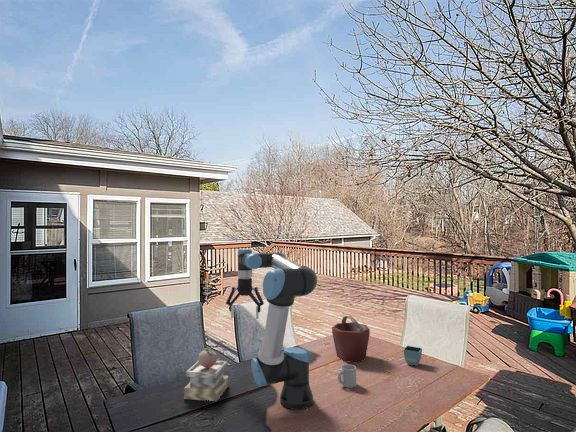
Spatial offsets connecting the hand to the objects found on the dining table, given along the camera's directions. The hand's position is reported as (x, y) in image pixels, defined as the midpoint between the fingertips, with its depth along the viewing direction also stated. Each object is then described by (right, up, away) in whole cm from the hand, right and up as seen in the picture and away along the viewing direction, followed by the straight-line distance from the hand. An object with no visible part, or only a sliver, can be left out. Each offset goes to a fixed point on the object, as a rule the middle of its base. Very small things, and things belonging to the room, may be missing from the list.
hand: (244, 318), depth 183 cm
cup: (+53, -31, -10) cm, 62 cm away
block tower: (-16, -31, -17) cm, 39 cm away
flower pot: (+96, -33, +18) cm, 103 cm away
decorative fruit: (-16, -20, -16) cm, 30 cm away
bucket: (+61, -33, +29) cm, 76 cm away
